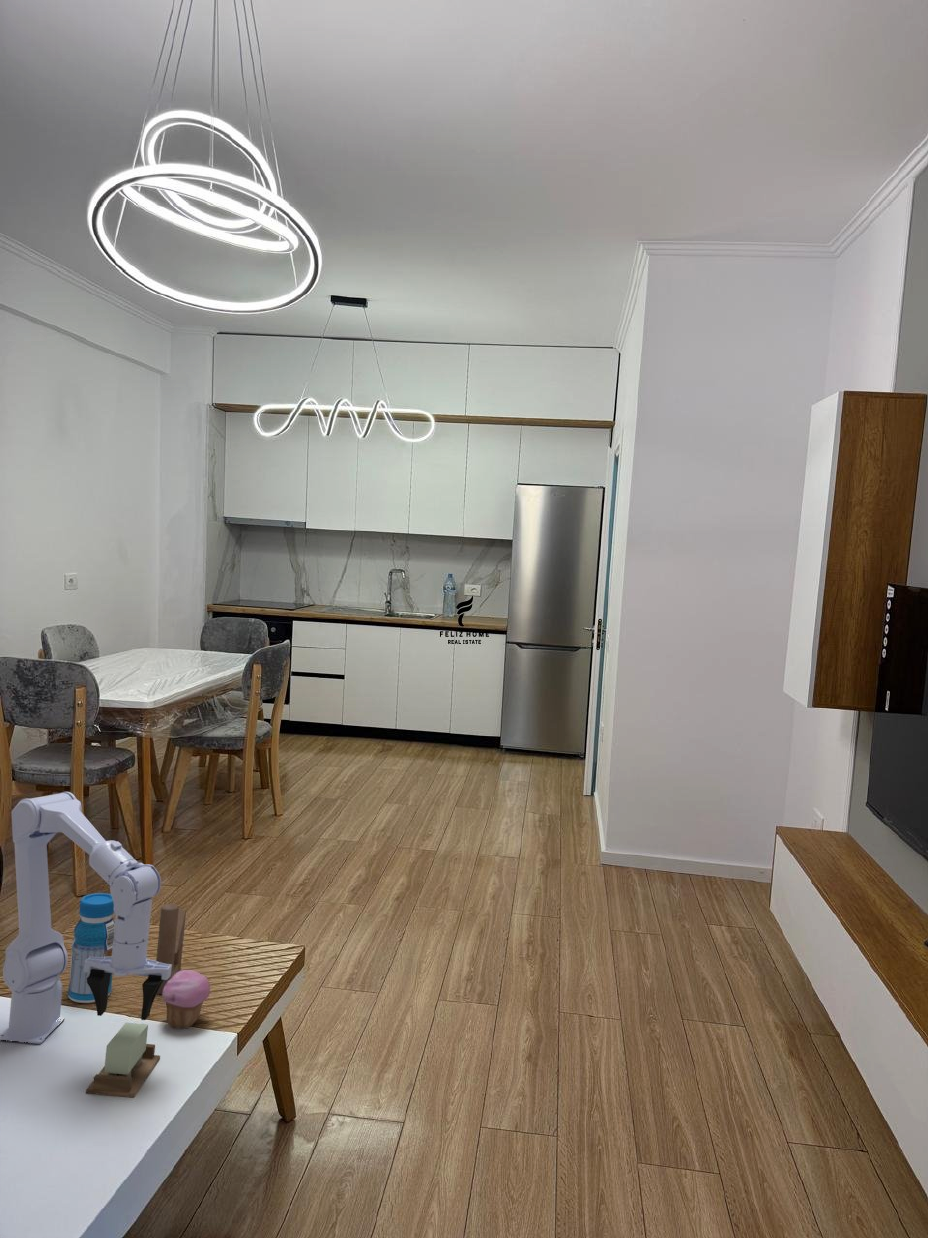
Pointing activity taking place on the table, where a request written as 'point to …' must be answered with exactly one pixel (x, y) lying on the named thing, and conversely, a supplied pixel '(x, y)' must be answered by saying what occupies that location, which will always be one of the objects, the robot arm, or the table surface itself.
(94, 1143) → the table surface
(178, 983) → the cupcake
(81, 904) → the beverage bottle
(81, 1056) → the table surface
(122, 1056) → the pale green block
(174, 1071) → the table surface
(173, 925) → the wooden block
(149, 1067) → the peg frame
